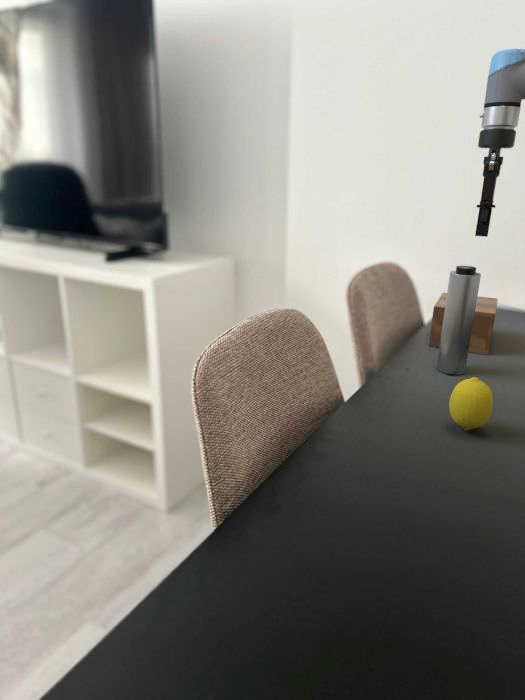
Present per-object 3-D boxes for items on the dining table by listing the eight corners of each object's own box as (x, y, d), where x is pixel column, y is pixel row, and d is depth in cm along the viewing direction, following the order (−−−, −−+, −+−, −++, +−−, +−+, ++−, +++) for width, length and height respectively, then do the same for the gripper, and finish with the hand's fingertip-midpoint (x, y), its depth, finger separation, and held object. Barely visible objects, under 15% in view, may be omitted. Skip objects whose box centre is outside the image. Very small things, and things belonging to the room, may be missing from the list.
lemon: (438, 429, 72) (446, 376, 69) (456, 417, 76) (464, 367, 73) (477, 444, 68) (487, 389, 66) (494, 430, 72) (504, 378, 69)
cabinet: (437, 328, 120) (442, 292, 117) (491, 335, 115) (497, 298, 112) (428, 346, 107) (433, 306, 104) (488, 355, 103) (495, 313, 100)
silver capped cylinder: (451, 364, 97) (466, 264, 91) (471, 373, 93) (488, 268, 87) (430, 367, 95) (444, 265, 89) (449, 376, 91) (466, 270, 85)
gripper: (482, 131, 122) (466, 232, 130) (478, 126, 111) (462, 237, 119) (516, 131, 119) (499, 234, 127) (516, 126, 108) (497, 239, 116)
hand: (481, 235), depth 123 cm, fingers closed
